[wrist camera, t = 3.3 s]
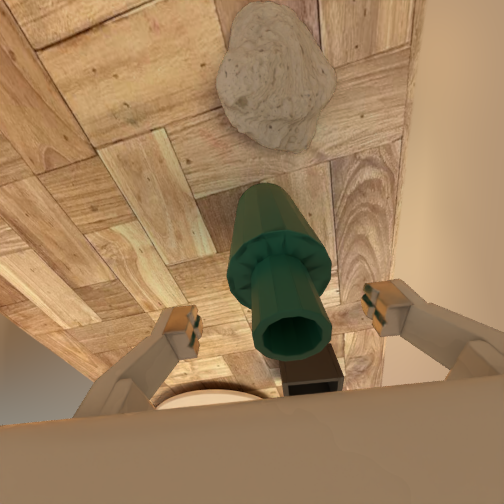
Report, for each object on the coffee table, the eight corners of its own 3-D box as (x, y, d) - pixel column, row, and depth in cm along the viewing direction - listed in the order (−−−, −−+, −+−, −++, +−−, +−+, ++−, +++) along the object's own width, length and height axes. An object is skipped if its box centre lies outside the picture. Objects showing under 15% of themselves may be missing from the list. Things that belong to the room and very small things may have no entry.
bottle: (290, 178, 20) (380, 268, 7) (293, 232, 23) (358, 372, 10) (232, 187, 21) (201, 291, 7) (242, 239, 24) (233, 383, 10)
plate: (304, 396, 43) (307, 410, 40) (250, 444, 55) (250, 456, 53) (172, 367, 36) (168, 381, 34) (145, 428, 49) (141, 441, 47)
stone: (348, 149, 17) (232, 168, 15) (318, 147, 21) (224, 161, 19) (371, -38, 12) (201, -40, 10) (326, 5, 16) (198, 9, 14)
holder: (330, 343, 34) (344, 377, 29) (328, 373, 38) (339, 407, 33) (277, 349, 34) (282, 383, 29) (281, 377, 39) (285, 411, 34)
